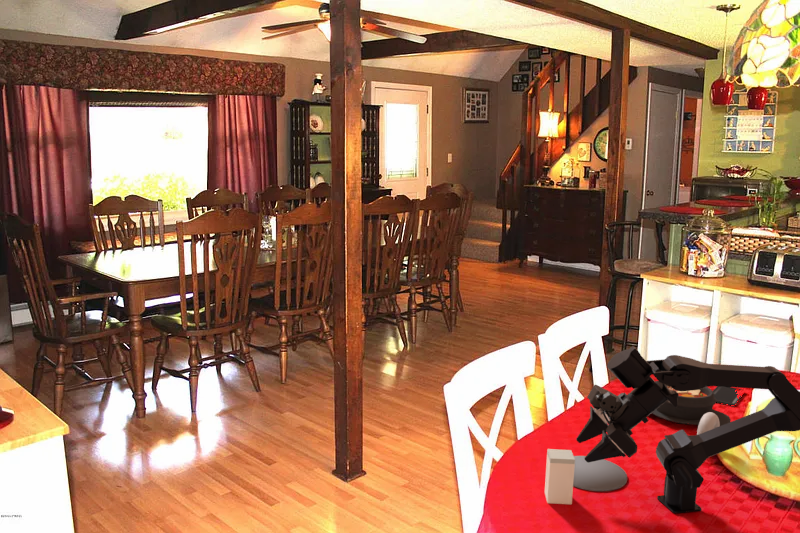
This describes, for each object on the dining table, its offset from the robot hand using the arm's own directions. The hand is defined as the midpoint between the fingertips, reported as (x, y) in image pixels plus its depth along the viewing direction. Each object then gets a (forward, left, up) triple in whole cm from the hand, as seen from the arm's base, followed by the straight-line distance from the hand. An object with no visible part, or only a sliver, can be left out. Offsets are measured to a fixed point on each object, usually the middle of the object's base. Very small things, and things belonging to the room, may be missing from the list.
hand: (581, 450), depth 148 cm
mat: (+10, -8, -11) cm, 17 cm away
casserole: (+37, -49, -11) cm, 63 cm away
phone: (+49, -72, -12) cm, 88 cm away
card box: (+1, +4, -11) cm, 12 cm away
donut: (+16, -42, -11) cm, 46 cm away
